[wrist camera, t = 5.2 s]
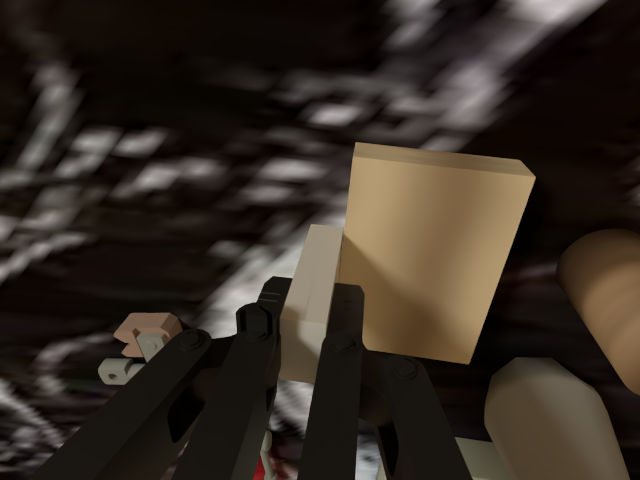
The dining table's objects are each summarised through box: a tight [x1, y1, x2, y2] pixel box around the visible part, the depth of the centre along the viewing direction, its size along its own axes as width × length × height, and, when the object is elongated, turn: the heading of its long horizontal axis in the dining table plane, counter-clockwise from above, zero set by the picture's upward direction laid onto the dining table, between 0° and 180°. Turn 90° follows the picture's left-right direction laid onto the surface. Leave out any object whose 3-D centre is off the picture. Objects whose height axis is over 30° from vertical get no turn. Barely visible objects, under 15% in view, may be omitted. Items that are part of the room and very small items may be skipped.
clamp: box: [98, 313, 277, 480], centre depth 27 cm, size 15×2×10 cm
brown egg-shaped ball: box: [556, 229, 640, 395], centre depth 16 cm, size 4×4×6 cm
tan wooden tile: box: [338, 142, 536, 364], centre depth 19 cm, size 7×10×2 cm
